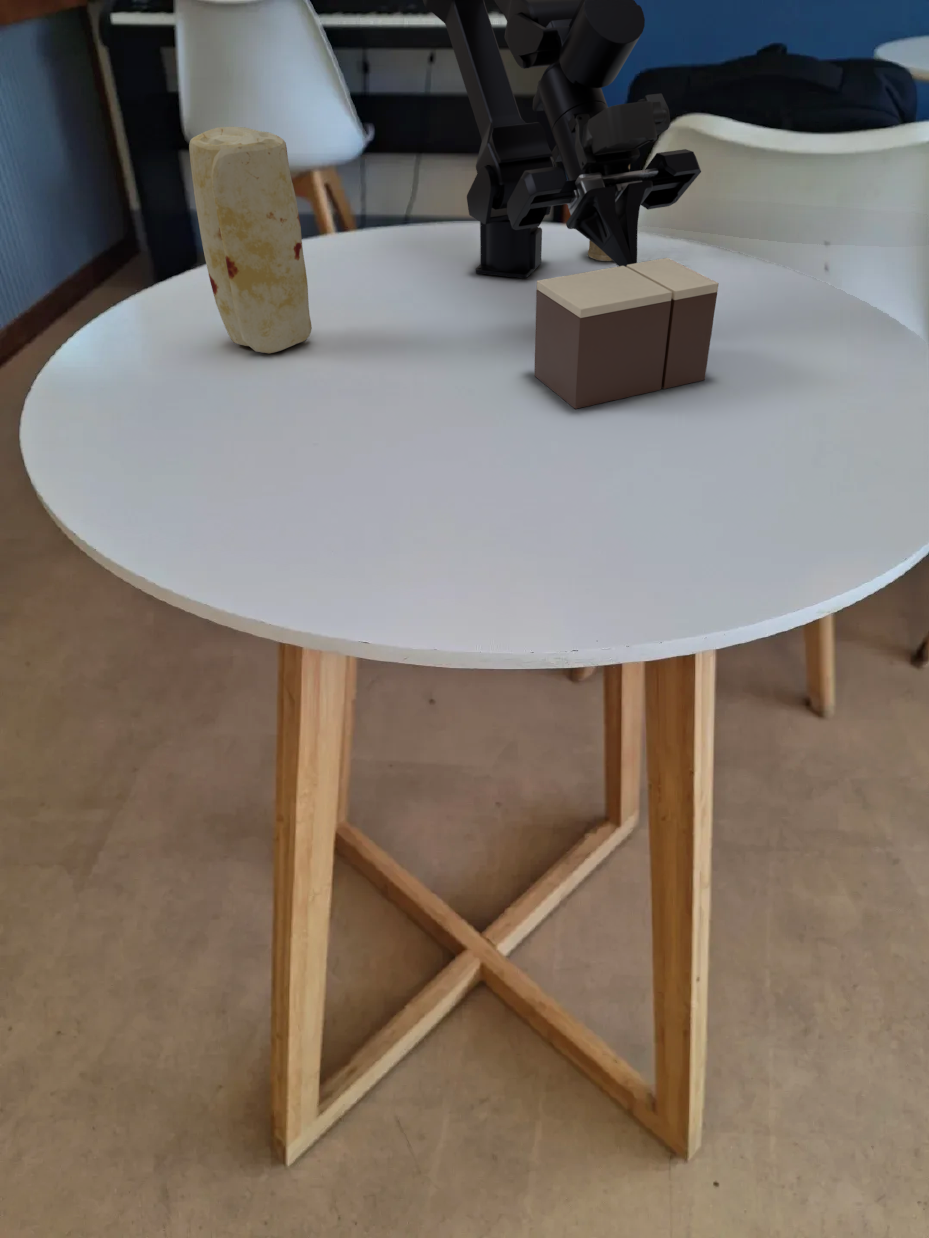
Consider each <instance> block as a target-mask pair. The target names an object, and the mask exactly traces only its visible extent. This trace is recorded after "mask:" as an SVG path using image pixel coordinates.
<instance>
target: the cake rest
mask: <svg viewBox="0 0 929 1238" xmlns="http://www.w3.org/2000/svg"><path fill="white" fill-rule="evenodd" d="M535 293H536V295H535V296H536V297H535V301H536V302H535V331H534V332H535V333H534V334H535V335H534V336H535V337H534V338H535V339H534V371H533V372H534V373H533V374H534V377H535V378H536V379H538V380H539V381H540V382H541V383H542V384H544V385H545V386H546V387H547V388H549V389H550V390H551V391H553V392H554V393H555V394H556V395H558V396H559V398H561V399H562V400H564V401H565V402H566V403H567V404H569V405H570V406H571V407H572V408H573V409H575V410H577V409H581V408H585V407H590V406H596V405H599V404H604V403H608V402H613V401H618V400H621V399H626V398H629V397H634V396H639V395H644V394H647V393H651V392H656V391H657V392H658V391H661V390H662V387H661V385H662V376H663V368H664V359H665V350H666V342H667V333H668V324H669V316H670V307H671V297H672V292H671V291H669V290H667V289H666V288H664V287H662V286H660V285H658V284H656V283H654V282H653V281H651V280H649V279H647V278H645V277H643V276H642V275H640V274H638V273H636V272H634V271H632V270H630V269H629V268H627V267H625V266H618V265H617V266H612V267H607V268H601V269H596V270H590V271H585V272H579V273H573V274H567V275H561V276H556V277H550V278H545V279H539V280H536V291H535Z"/></svg>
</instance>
